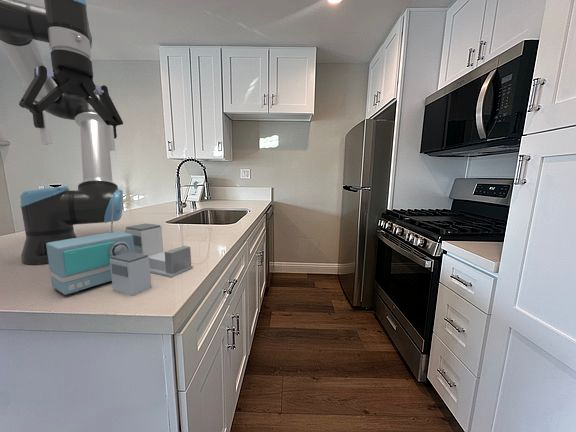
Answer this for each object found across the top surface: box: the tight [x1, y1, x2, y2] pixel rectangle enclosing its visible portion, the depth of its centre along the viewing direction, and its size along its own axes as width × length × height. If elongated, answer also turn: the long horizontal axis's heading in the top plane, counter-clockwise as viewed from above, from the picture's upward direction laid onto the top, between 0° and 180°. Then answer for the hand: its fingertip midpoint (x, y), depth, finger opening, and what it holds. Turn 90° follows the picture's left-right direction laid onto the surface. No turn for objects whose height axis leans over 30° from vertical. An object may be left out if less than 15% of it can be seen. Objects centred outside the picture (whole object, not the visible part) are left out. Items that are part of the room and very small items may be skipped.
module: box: [110, 252, 152, 297], centre depth 62 cm, size 7×5×8 cm
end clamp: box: [164, 245, 192, 274], centre depth 73 cm, size 2×7×6 cm, turn 157°
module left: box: [124, 223, 164, 256], centre depth 78 cm, size 7×8×12 cm
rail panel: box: [148, 251, 194, 278], centre depth 76 cm, size 20×8×4 cm, turn 67°
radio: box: [46, 204, 134, 296], centre depth 64 cm, size 16×9×20 cm, turn 148°
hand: (82, 147), depth 63 cm, fingers open, 13 cm apart
